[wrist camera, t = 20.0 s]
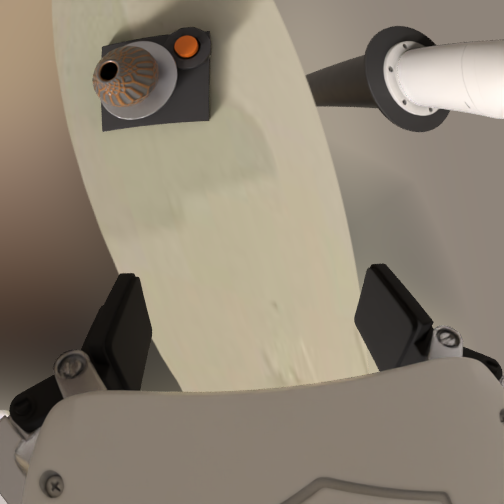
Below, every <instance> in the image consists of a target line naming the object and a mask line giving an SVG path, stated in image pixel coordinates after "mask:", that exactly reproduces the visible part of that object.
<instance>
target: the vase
mask: <svg viewBox="0 0 504 504" xmlns="http://www.w3.org/2000/svg"><path fill="white" fill-rule="evenodd" d="M158 79H159V67H158V64H157V61H156V60H155V58H154V57H153V56H152V55H151V54H150V53H149V52H148V51H147V50H145V49H143V48H140V47H136V46H123V47H119V48H116V49H114V50H112V51H110V52H109V53H107V54H106V55H105V56H104V57H103V58H102V59H101V60H100V61H99V63H98V64H97V66H96V68H95V71H94V74H93V86H94V89H95V92H96V94H97V95H98V96H99V98H100V99H101V100H102V101H104V102H105V103H107V104H109V105H112V106H115V107H129V106H133V105H136V104H138V103H140V102H142V101H144V100H145V99H146V98H147V97H148V96H149V95H150V94H151V93H152V92H153V91H154V89H155V87H156V85H157V83H158Z"/></svg>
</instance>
